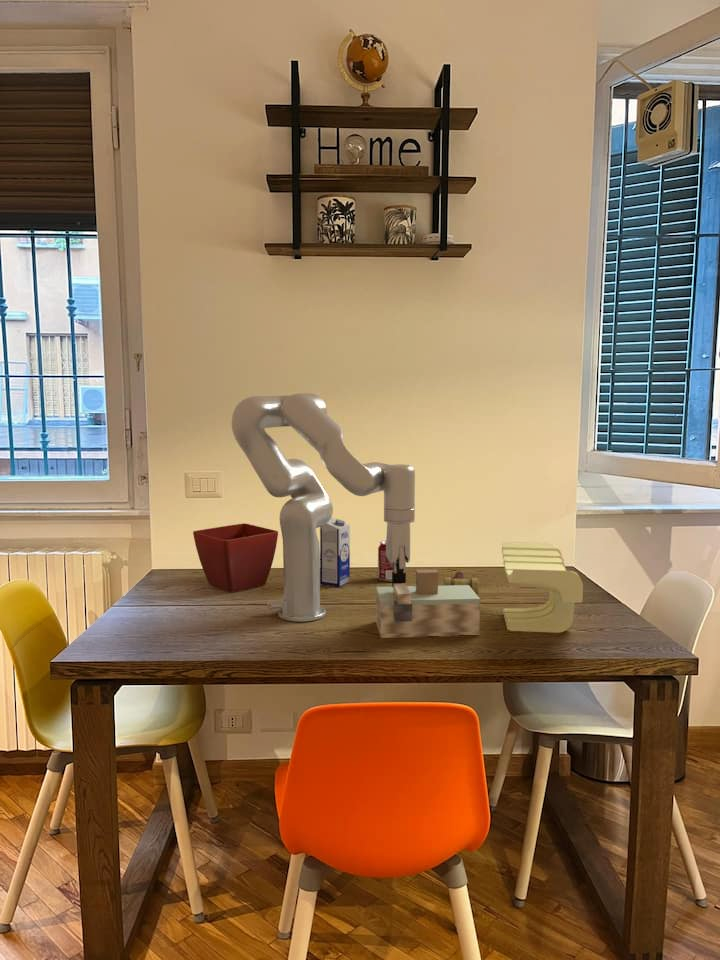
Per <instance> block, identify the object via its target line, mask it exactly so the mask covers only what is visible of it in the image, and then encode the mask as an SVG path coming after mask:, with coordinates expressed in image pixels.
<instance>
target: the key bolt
mask: <svg viewBox="0 0 720 960" xmlns="http://www.w3.org/2000/svg"><path fill="white" fill-rule="evenodd" d="M407 586H408V585H407V583H393V594H394V596H395V598H396V601H397V603H398V604H411V593H410V591H409V589H408V587H407Z"/></svg>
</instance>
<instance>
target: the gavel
mask: <svg viewBox="0 0 720 960" xmlns="http://www.w3.org/2000/svg"><path fill="white" fill-rule="evenodd" d="M454 576H455V578H451V577H450V576H445V577H444V578H443V586H450V585H469V586H470V587H471V588H472V590H473V591H474V592H475V593H476V594H479V589H480V588H479V578H478V577H471V579H470V578H464V577H465V576H464V573H463V572H462V571H457V572H456V573H455V575H454Z"/></svg>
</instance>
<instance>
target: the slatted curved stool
mask: <svg viewBox="0 0 720 960" xmlns="http://www.w3.org/2000/svg"><path fill="white" fill-rule="evenodd" d="M501 553H502V559H503V566H504V572H505V575H506V577H507V581H508V582H509V584H519V585H520V584H521V585H523V584H524V585H532V586H537V587H541V588H543V589H544V588H545V589H546V590H548V591H549V598H548V600H547V602H546V603H545V604H543V605H540V606H539V605H538V606H535V607H526V608H503V609H502V610H503V611H502V615H504V616H503V618H505V619H504V622H506V623H505V625H506V629H508V630H510V632H531V633H532V632H535V633H537V632H538V633H558V634H559V633H563V632H565V631H567V630H568V629H569V628H570V626H571V625H572V623H573V621H574V612H575V603H577V604H578V603H579V604H580V603H581V604H582V603H583V600H584V599H583V597H584V596H583V595H584V593H583V591H584V583H583V580H582V579H581V577H580V576H579V574H578V573H577V572H575V571H572V570H567V569H566V565H565V563H564V558H563V555H562V552H561V550H560V549H559V547H558V546H557V545H555V544H553V543H551V542H522V541H521V542H520V541H519V542H518V541H501ZM508 630H507V631H508Z"/></svg>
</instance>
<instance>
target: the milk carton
mask: <svg viewBox="0 0 720 960" xmlns="http://www.w3.org/2000/svg"><path fill="white" fill-rule="evenodd" d="M350 534H351V524H349V523H346V522H345V521H344V520H342V519H338V518H333V517H331V519H330V520H329V522H327V523H326V524H325V525H323V526H321V527H319V549H320V584H322V585H321V586H326V585H329V586H328V587H333V586H335V588H341V587H342V586H344V584H345V585H347V584H349V583H350V580H351V576H350V575H351V573H350V571H351V570H350V568H351V567H350V566H351V564H350V563H351V559H350V558H351V555H350V554H351V552H350V551H351V549H350V548H351V545H350V543H351V542H350V541H351V540H350V539H351V537H350V536H351V535H350ZM348 582H349V583H348ZM346 583H347V584H346Z"/></svg>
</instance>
